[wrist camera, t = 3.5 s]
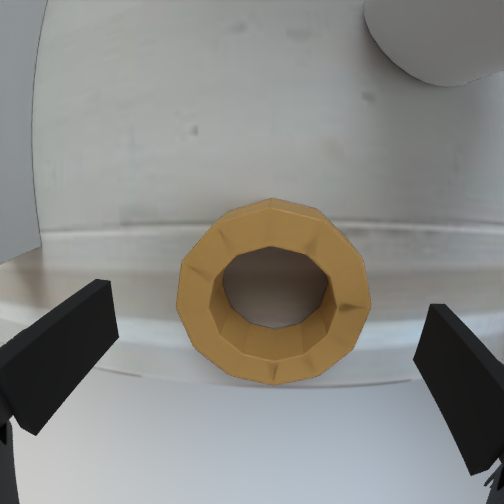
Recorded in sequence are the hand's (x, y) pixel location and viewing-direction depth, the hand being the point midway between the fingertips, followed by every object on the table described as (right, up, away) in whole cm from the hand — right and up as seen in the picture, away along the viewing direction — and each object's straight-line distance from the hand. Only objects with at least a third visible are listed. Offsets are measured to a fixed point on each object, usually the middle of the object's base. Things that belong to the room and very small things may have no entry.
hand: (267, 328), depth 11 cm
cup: (+10, +15, -1) cm, 18 cm away
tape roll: (+1, +1, +4) cm, 4 cm away
